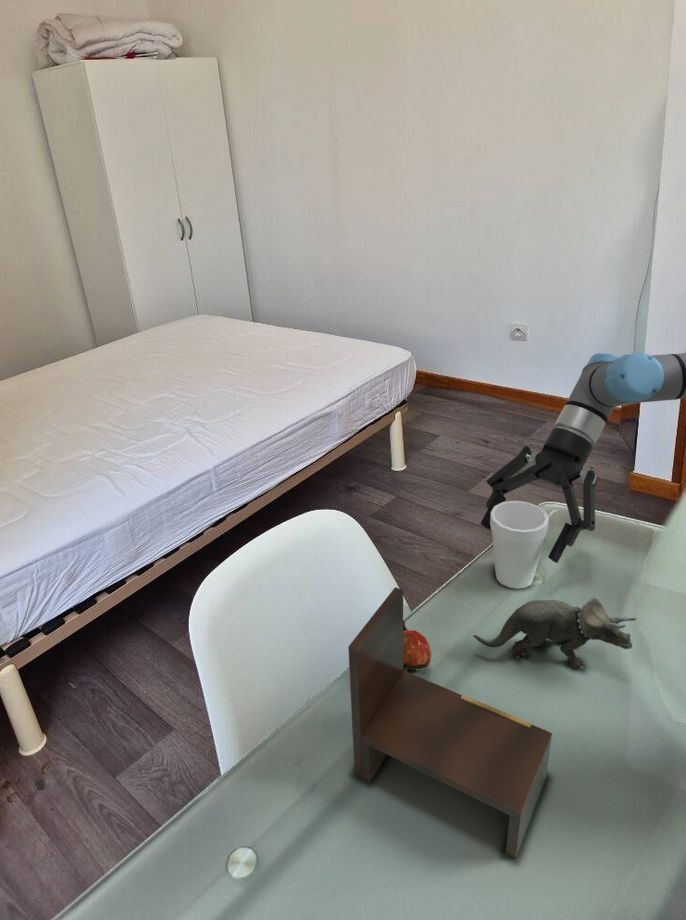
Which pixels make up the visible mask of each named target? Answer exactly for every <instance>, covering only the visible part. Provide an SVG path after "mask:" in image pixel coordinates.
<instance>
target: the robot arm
mask: <svg viewBox="0 0 686 920" xmlns="http://www.w3.org/2000/svg"><path fill="white" fill-rule="evenodd" d="M574 385H575V386H574V387H573V389H572V391H571V393H570V395H569V397H568V399H567V400H566V402H565V405H564V406H563V408H562V410H561V412H560V414H559V415H558V418H557V419H556V421H555V423H554V427H555V428H552V429H551V430H550V432H549V434H548V436H547V438H546V440H545V442H544V443H543V447H542V449H541V450H540V451H539V452H536V451H535V450H533V449H532V448H530V446H528V445H525V446H523V447H522V448H521V450H520V451H519V453H518V454H517V456H516V457H514V458H513V459H511V460H510V461H509V462H508V463H506V464H505V465H504V466H502V467H501V468H500V469H499V470H497V471H496V472H495V473H493V474H492V475H491V476H490V477H489V478H487V479H486V483H487V484H488V485H489V487H491V488H492V492H491V493H490V496H489V498H488V500H487V501H486V504H485V507H486V508H487V510H486V512H485V514H484V516H483V517H482V519H481V521H480V523H479V524H480V526H482V527H484V528H485V529H487V530H489V531H490V530H491V526H490V515H491V511H492V509H493V508H494V506H496V505H498V504H500V503H502V502H506V500H507V497H505V495H506V494H508V493H510V492H513V491H514V490H517V489H519V488H521V487H523V486H525V485H527V484H529V483H531V482H534V481H535V482H536V481H538V480H541V481H542V482H543V483H546V484H552V485H553V486H554V487H555V488H561V489H562V492H563V496H564V499H565V503H566V507H567V510H568V514H569V518H570V523H568V522H565V524H564V526H563V527H562V529H561V531H560V533H559V535H558V537H557V539H556V541H555V542H554V545H553V547H552V548H551V550H550V552H549V554H548V555H547V558H549V560H551V561H552V562H554V563H556V564H558V562H559V561H560V559H561V557H562V555H563V553H564V551H565V549H566V547H567V546H568V547H570V548H571V547H572V546H573V545H574V544H575V543H576V540H577V538H578V537H579V534H580V532H582V531H589V532H593V531H595V529H596V486H597V483H598V480H599V476H598V475H597V473H596V472H595V471H594V470H593V469H590V470H584V469H583V467H584V466H585V465H586V462H587V461H588V459H589V457H590V455H591V453H592V452H593V448H594V447H593V445H595V444H596V443H597V441H598V440H599V438H600V436H601V434H602V432H603V430H604V428H605V426H606V425H607V422H608V421H609V419H610V417H611V415H612V414H613V411H614V409H615V408H616V407H619V406H624V405H628V404H629V405H630V404H638V403H650V402H651V403H652V402H653V403H654V402H663V401H675V400H684V399H685V400H686V352H681V353H666V354H653V355H652V354H651V355H650V354H648V353H644V352H635V353H630V354H624V355H621V356H620V357H619V356H617V355H614V354H611V353H607V352H605V353H603V352H597V353H595V354H593V355H591V357H590V359H589V360H588V362H587V363H586V365H585V366H583V368H582V370H581V374H580V376H579V377H578V380H576V384H574ZM534 460H535V464H534V465H531V466H530V467H527V469H526V470H524V471H522V472H520V473H518V472H519V471H520V470H522V469H524V468H525V467H526V466H527V465H528V464H529V463H532V462H533V461H534ZM517 473H518V474H517ZM515 474H516V475H515ZM580 478H581V482H582V483H583V485H582V501H583V502H582V503H583V505H582V506H583V508H582V509H583V511H582V514H583V515H582V516H583V519H582V516H581V512H580V509H579V504H578V501H577V498H576V497H577V496H576V494H575V487H574V484H573V482H574V481H577V480H578V479H580Z"/></svg>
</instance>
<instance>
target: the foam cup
mask: <svg viewBox="0 0 686 920" xmlns="http://www.w3.org/2000/svg"><path fill="white" fill-rule="evenodd" d="M549 522H550V518H549V516H548V513H547V511H545V510H544V509H543V508H542V507H540V506H539V505H537V504H534V503H531V502H529V501H522V500H508V501H505V502H502V503H500V504H498V505H496V506H494V508H493V509H492V511H491V515H490V526H491V528H490V530H491V534H492V535H491V538H492V539H491V540H492V549H493V561H494V570H495V576H496V581H498V582H499V583H500V585H503V586H505V587H507V588H510V589H516V590H520V589H526V588H528V587H529V586H530V585H532V583H533V580H534V577H535V574H536V570H537V567H538V563H539V560H540V556H541V552H542V549H543V546H544V541H545V538H546V536H547V533H548V531H549Z"/></svg>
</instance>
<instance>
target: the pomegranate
mask: <svg viewBox="0 0 686 920" xmlns="http://www.w3.org/2000/svg"><path fill="white" fill-rule="evenodd" d="M431 661H432V649H431V646H430V644H429V642H428V640H427V638H426V637H425V636H424V635H423V634H422V633H420V632H419V631H417V630H414V629H413V630H411V629H410V630H409V629H407V627H406V622H405V620H403V670H404V671H406V672H408V670H421V669H423V668H427V667H429V666H430V663H431Z"/></svg>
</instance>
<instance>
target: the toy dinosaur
mask: <svg viewBox="0 0 686 920" xmlns="http://www.w3.org/2000/svg"><path fill="white" fill-rule="evenodd" d="M636 620H637V618H636V617H629V616H623V615H622V616H621V615H620V616H615V617H610V616H609V615H608V614H607V612H606V609H605V608H604V604H602V602H601V600H599V599H598V598H596V597H595V596H593V598H592V597H590V599H589V600H587V602H586V603H583V605H582V607H579V606H573V605H570V604H568V603H566V602H564V601H561V600H558V599H557V600H556V599H545V600H544V599H543V600H542V599H534V600H531V601H528V602H525V603H524V604H523V605H521V606H520V607H518V608H516V609H515V611H514V612H513V613H511V615H510V616H509V617H508V619H507V620H506V621H505V623H504V624H503V626H502V629H501V631H500V632H499V634H498V635H497V636H496V637H495V638H494V639H492V640H491V639H490V640H486V639H484V638H481V636H479V635H477V634H473V635H472V636H473V637H474V639H475V640H477V641H478V642H479V643H481V644H482V645H484V646H486V647H489V648H500V647H503V646H504V645H505V644H506V643H507V642H509V641H510V640H511V639H512V638H514V637H515V636H516V635H517V634H519V633H520V632H522V633H523V634H525V636H524V637H523V638H522V639H520V640H519V639H518V640H516V641H515V642H514V644H513V646H512V648H511V649H512V653H513V655H514V658H516V659H517V660H519V659H520V656H521V657H522V656H525V655H526V653H525V651H524V650H525V649H526V648H533V647H535V648H541V649H543V648H544V647H547V646H549V643H548V642H546V640H549V641H551V642H557V643H562V645H560V647H559V650H560V652H561V653H562V654H564V656H565V657H566V658H567V659H568V663H569V667H570V668H571V667H572V668H573V669H577V668H578V669H584V666H585V665H586V663H585V662H584V661H582V660H583V659H582V658H580V657H577V655H576V654H575V651H574V650H577V649H579V648H580V647H582V646H584V645H586V644H587V642H589V641H591V640H592V641H594V640H595V641H602V642H604V643H606V644H610V645H614V646H615V647H619V648H621V649H623V650H630V649H632V648H633V643H632V640H631V637H632V634H631V633H630V632H629V633H628V632H624V631H621V629H623V628H625V627H626V624H622V625H621V624H620V625H619V623H622V622H632V621H633V622H634V621H636Z"/></svg>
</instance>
